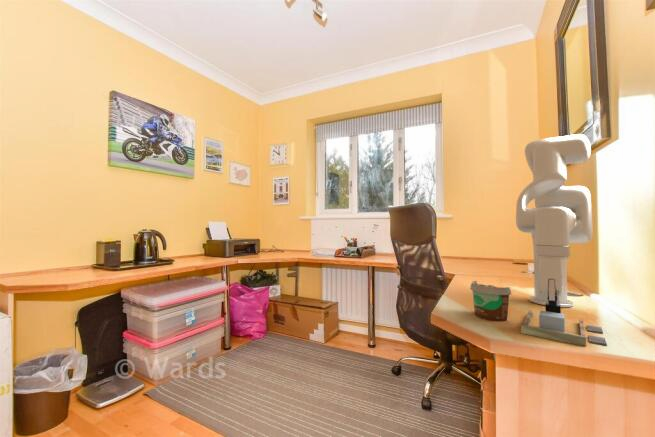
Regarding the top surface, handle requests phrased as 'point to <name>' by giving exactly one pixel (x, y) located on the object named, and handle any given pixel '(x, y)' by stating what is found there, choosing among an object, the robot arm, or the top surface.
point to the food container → (490, 301)
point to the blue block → (552, 321)
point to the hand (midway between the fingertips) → (553, 319)
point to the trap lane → (561, 335)
